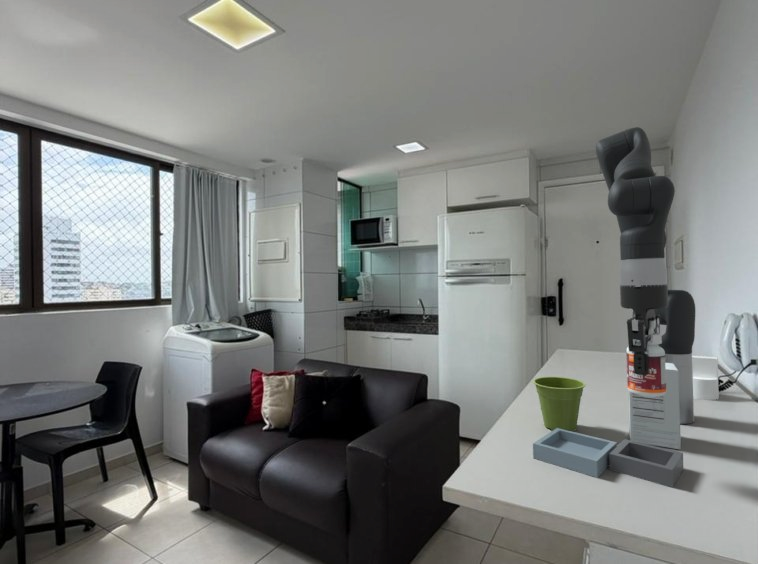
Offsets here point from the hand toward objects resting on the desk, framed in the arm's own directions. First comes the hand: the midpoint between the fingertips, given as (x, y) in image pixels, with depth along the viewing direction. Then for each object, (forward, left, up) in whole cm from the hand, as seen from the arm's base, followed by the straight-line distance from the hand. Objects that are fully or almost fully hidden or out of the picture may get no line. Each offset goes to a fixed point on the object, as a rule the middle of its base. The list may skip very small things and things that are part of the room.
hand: (646, 370), depth 76 cm
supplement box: (-18, -3, -19) cm, 26 cm away
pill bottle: (0, 0, -4) cm, 4 cm away
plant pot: (-11, -21, -19) cm, 30 cm away
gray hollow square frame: (0, 0, -19) cm, 19 cm away
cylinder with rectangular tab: (-67, -1, -19) cm, 70 cm away
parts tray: (+4, -12, -19) cm, 22 cm away
